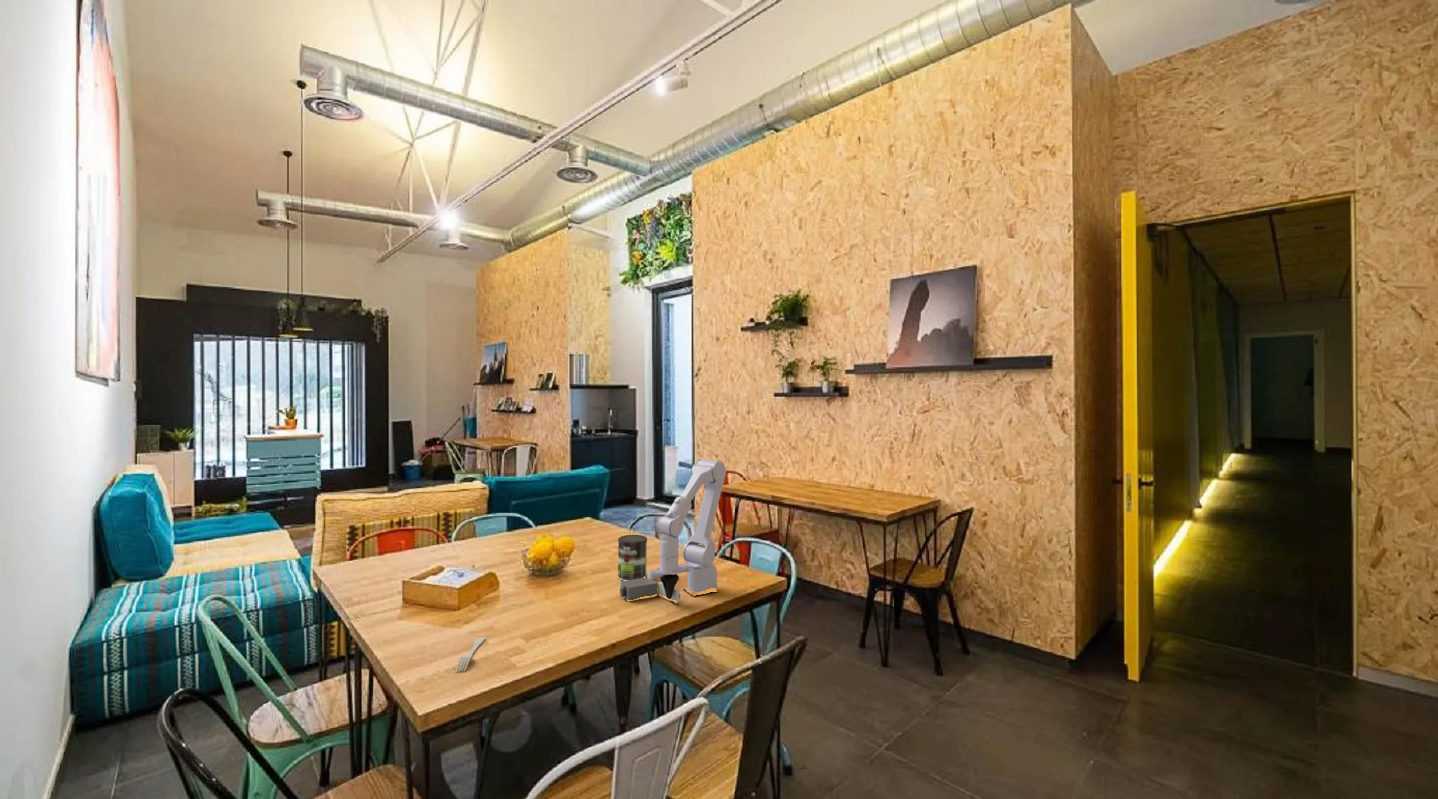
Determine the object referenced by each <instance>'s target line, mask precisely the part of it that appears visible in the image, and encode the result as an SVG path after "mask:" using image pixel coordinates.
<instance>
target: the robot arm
mask: <svg viewBox="0 0 1438 799" xmlns="http://www.w3.org/2000/svg"><path fill="white" fill-rule="evenodd" d="M691 474H692V475H691V477H690V478H689V481H688V482H687V484H686V487H685V488H684V490H683V492H682V495H681V496H677V497H675V499H674V501H673V503H672V504H671V505H670V508H669V509H668V511H667V512H666V514H665V515H664V516H661V518H659V519H658V522H657V525H656V532H657V533H658V539H659V540H660V547H659V548H660V549H659V553H660V554H659V559H660V560H659V562H660V563H659V568H656V569H654V570H651V571H646V576H647V578H648V579H650V580H652V579H653V580H654V579H656V578H659V580H660V582H662V584H663V586H664V589H665V593H666V597H667V598H668V599H671V598H672V594H673V590H674V588H676V585H677V583H678V581H679V579H680V576H679V574H681V573H687V587H688V589H689V590H690V591H694V592H701V591H705V590H707V589H710V588H717V589H718V570H717V566H716V565H715V564H714V562H715V558H716V551H715V550H716V544H715V542H714V541H713V540H712V537H711V535H712V534H713V533H712V532H713V527H714V524H715V519H716V514H717V511H718V507H719V502H720V499H721V494H722V490H723V486H724V482H725V478H726V474H727V469H726V466H725V464H724V462H723V461H721V460H710V459H702V458H697V459H696V460H695V462H694V464H693V465H692V468H691ZM702 486H704V488H705V491H704V495H703V499H702V502H701V507H700V512H699V515H698V519H697V523H696V528H695V533H694V534H692V535H691V536H690V537H688V538H687V542H686V544H685V546H684V547H683V550H682V557H683V560H684V561H685V564H679V545H680V544H679V542H680V539H679V536H680V535H681V534H682V532H683V530H684V524H685V519H686V517H687V515H688V514H689V512H690V510H691V509H692V500H693V499H694V497H695V496H696V495H697V493H698V492H699V490H700V489H701V487H702Z"/></svg>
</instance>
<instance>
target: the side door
mask: <svg viewBox="0 0 1438 799" xmlns="http://www.w3.org/2000/svg"><path fill="white" fill-rule="evenodd" d="M657 583H658V593H659V594H660V595H662V596H666V593H665V589H664V586H663V584H662V581H658V582H657ZM671 599H672V600H676V601H678V600H679V601H680V600H681V593H680V589H678V588H676V587H674V590H673V594H672V598H671Z"/></svg>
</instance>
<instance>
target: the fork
mask: <svg viewBox="0 0 1438 799" xmlns="http://www.w3.org/2000/svg"><path fill="white" fill-rule="evenodd" d="M485 640H487V637H477V638H476V639H475V640H474V644H473V646H472V648H471V651H470V652H469V654H467V655H461V656H460V657H459V659H458V662H457V666H456V671H455V673H456V672H457V673H458V672H459V671H460V672H461V671H462V672H464V671H465V672H466V670H467V667H468V665H469V663H470V660H471V659H472V657H473V656H474V655H473V654H474V653H475V651H476V650H477V649H478V648H479V647H480V646H481V645H482V644H483V642H484V641H485Z"/></svg>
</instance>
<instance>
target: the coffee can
mask: <svg viewBox="0 0 1438 799" xmlns="http://www.w3.org/2000/svg"><path fill="white" fill-rule="evenodd" d="M617 541H618V549H617V550H618V553H617V554H618V556H617V557H618V559H617V560H618V562H617V564H618V565H617V571H618V572H617V578H618V577H619V579H621V580H633V579H639V578H643V577H644V576H647V562H648V561H647V558H648V556H647V555H648V554H647V553H648V550H647V549H648V537H647V536H645V535H642V534H626V535H621V536H619V537H618V539H617ZM619 579H618V580H619ZM621 580H620V581H621Z"/></svg>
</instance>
